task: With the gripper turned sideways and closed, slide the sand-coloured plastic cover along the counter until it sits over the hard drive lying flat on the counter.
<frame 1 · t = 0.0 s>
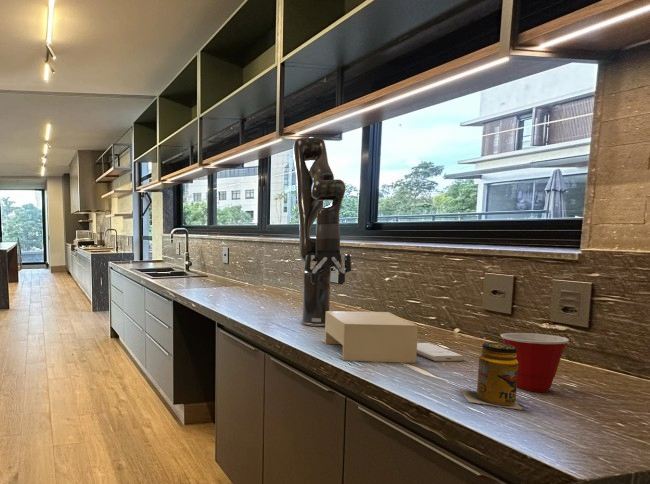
hand: (327, 284, 143), 17 cm above the countertop, tool pointing down, fingers open, 8 cm apart
condiment: (489, 400, 87), on the countertop
hard drive: (431, 354, 118), on the countertop
cover: (366, 352, 121), on the countertop
plastic cup: (529, 388, 93), on the countertop
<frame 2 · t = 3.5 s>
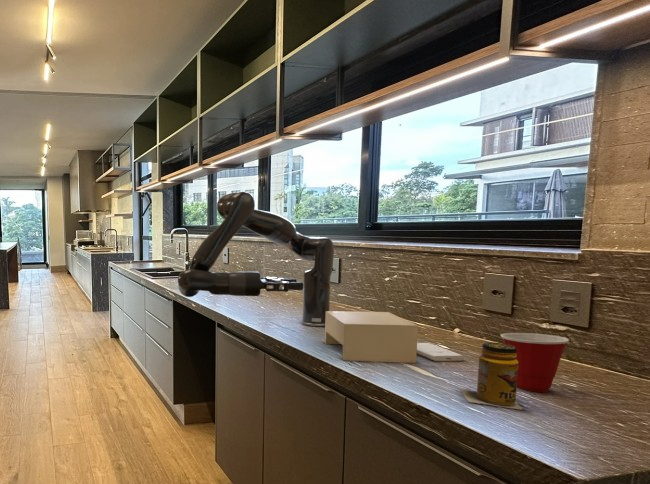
hand: (299, 284, 123), 20 cm above the countertop, tool horizontal, fingers open, 8 cm apart
nothing on the countertop moved.
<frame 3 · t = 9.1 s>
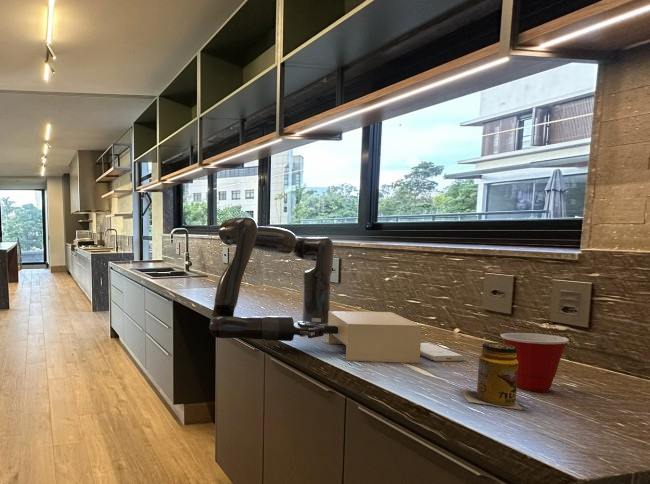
hand: (337, 329, 122), 7 cm above the countertop, tool horizontal, fingers closed
cover: (369, 352, 121), on the countertop, touching gripper
everything else where it was.
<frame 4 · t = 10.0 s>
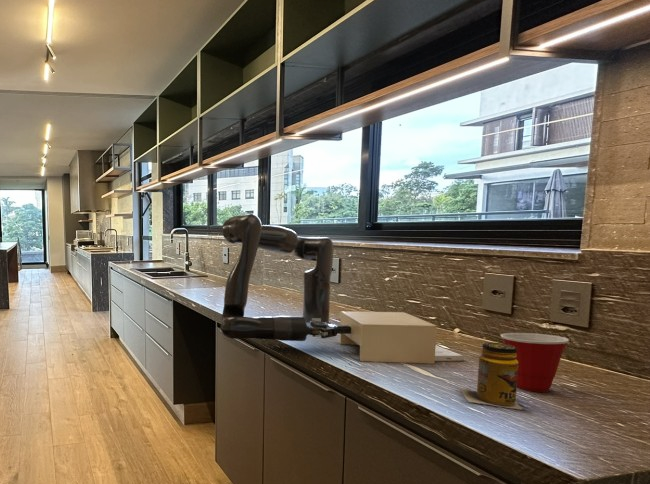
hand: (350, 329, 122), 7 cm above the countertop, tool horizontal, fingers closed
cover: (382, 352, 121), on the countertop, touching gripper
everything else where it was.
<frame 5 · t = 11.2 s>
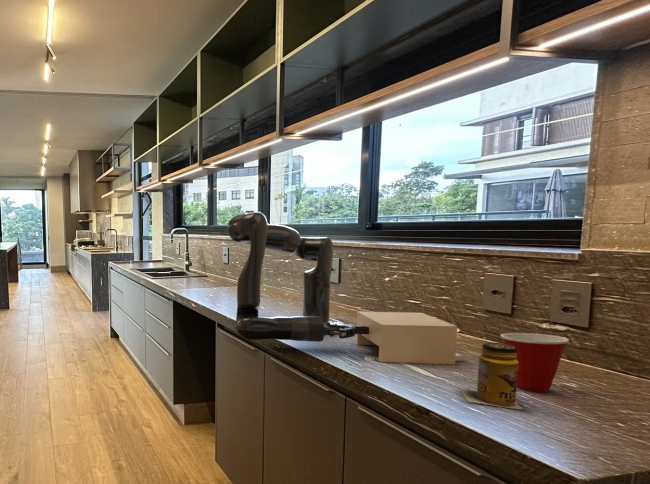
hand: (367, 330, 121), 7 cm above the countertop, tool horizontal, fingers closed
cover: (401, 353, 120), on the countertop, touching gripper
everything else where it was.
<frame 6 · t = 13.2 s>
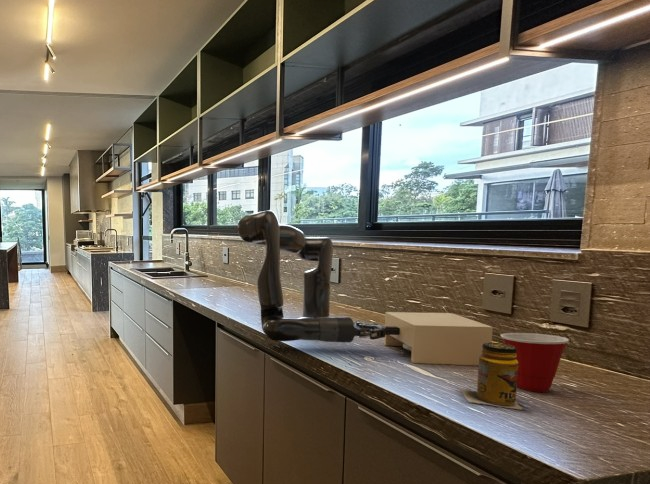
hand: (398, 330, 119), 7 cm above the countertop, tool horizontal, fingers closed
cover: (432, 354, 118), on the countertop, touching gripper
everything else where it was.
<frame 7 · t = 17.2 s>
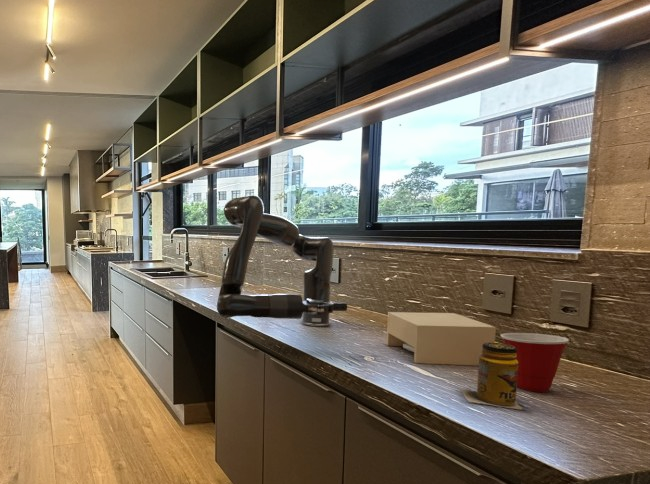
hand: (346, 306, 121), 14 cm above the countertop, tool horizontal, fingers closed
cover: (435, 354, 118), on the countertop
everything else where it was.
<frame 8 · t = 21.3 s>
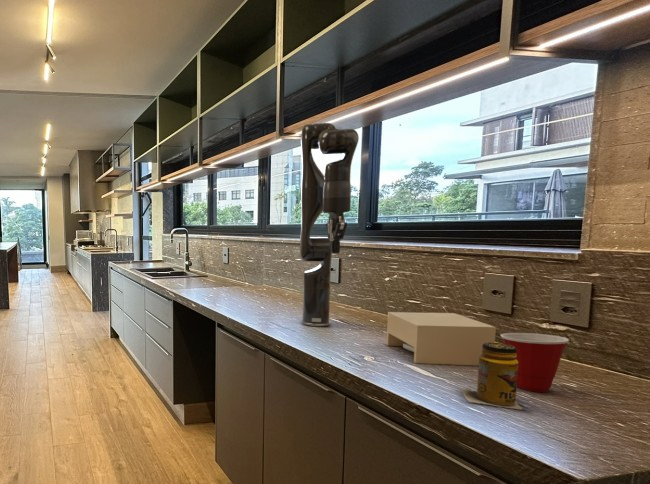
hand: (335, 253, 128), 29 cm above the countertop, tool pointing down, fingers closed
nothing on the countertop moved.
at the end: cover 0.8 cm off-centre in the hard drive, point 0.2 cm above the hard drive's base; cover tilted 0°; hard drive moved 0.2 cm from its start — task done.
